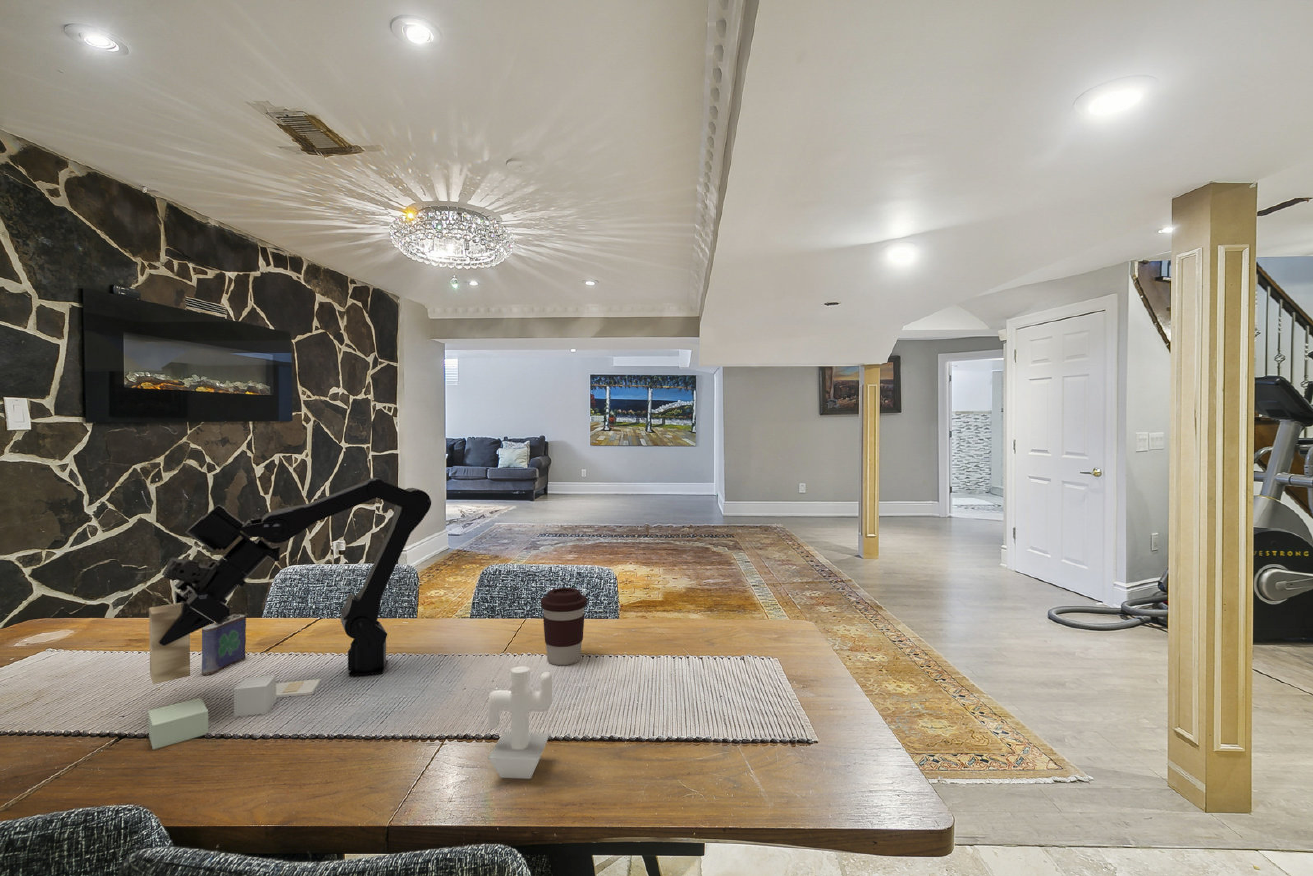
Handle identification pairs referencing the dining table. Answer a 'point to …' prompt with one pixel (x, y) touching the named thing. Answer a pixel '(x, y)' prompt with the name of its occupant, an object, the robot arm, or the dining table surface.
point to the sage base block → (177, 722)
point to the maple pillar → (167, 646)
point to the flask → (223, 644)
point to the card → (296, 688)
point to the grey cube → (255, 695)
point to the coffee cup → (563, 625)
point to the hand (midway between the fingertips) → (159, 640)
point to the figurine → (519, 724)
